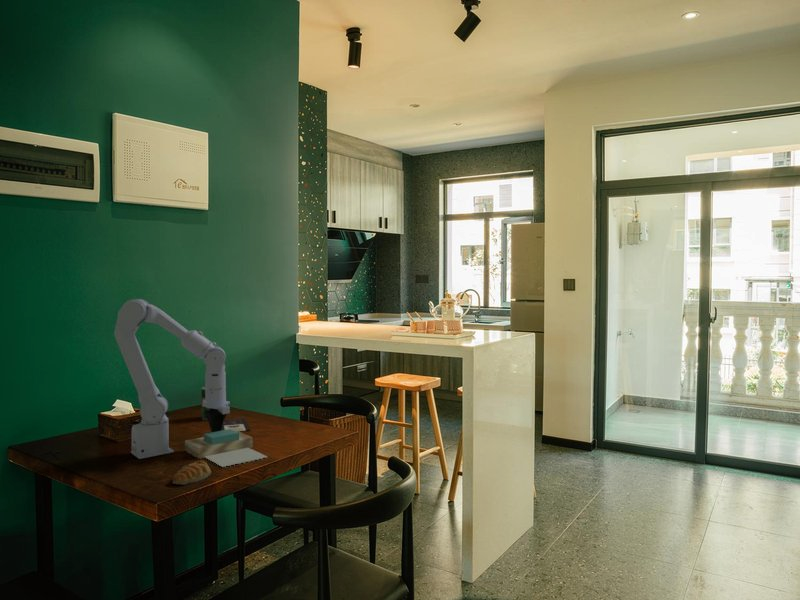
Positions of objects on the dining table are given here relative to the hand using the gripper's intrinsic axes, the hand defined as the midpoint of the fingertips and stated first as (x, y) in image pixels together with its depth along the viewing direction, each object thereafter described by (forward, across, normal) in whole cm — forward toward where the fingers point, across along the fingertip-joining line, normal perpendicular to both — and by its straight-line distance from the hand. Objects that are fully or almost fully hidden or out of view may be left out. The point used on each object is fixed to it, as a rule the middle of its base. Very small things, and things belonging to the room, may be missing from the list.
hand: (216, 434), depth 165 cm
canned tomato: (+4, +38, -15) cm, 41 cm away
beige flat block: (+4, -2, 0) cm, 4 cm away
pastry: (+4, -22, +16) cm, 27 cm away
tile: (0, -4, 0) cm, 4 cm away
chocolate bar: (+5, +21, -15) cm, 26 cm away
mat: (+4, -13, 0) cm, 14 cm away
